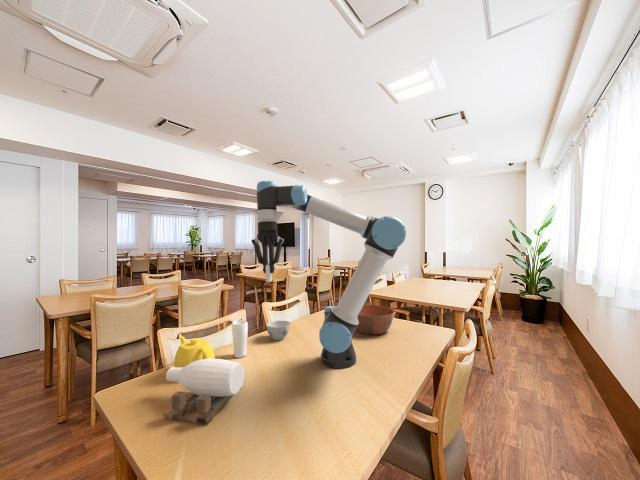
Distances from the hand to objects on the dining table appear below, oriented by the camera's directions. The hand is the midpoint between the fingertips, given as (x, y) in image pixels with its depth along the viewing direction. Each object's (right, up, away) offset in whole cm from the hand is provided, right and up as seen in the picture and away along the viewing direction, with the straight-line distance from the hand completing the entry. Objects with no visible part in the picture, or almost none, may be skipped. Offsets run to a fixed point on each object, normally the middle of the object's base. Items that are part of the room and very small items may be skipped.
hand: (269, 281), depth 106 cm
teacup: (-3, -36, +37) cm, 52 cm away
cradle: (-16, -36, -19) cm, 44 cm away
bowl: (+50, -35, +48) cm, 78 cm away
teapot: (-31, -36, +3) cm, 48 cm away
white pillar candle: (-16, -36, +16) cm, 42 cm away
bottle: (-6, -28, -21) cm, 35 cm away
